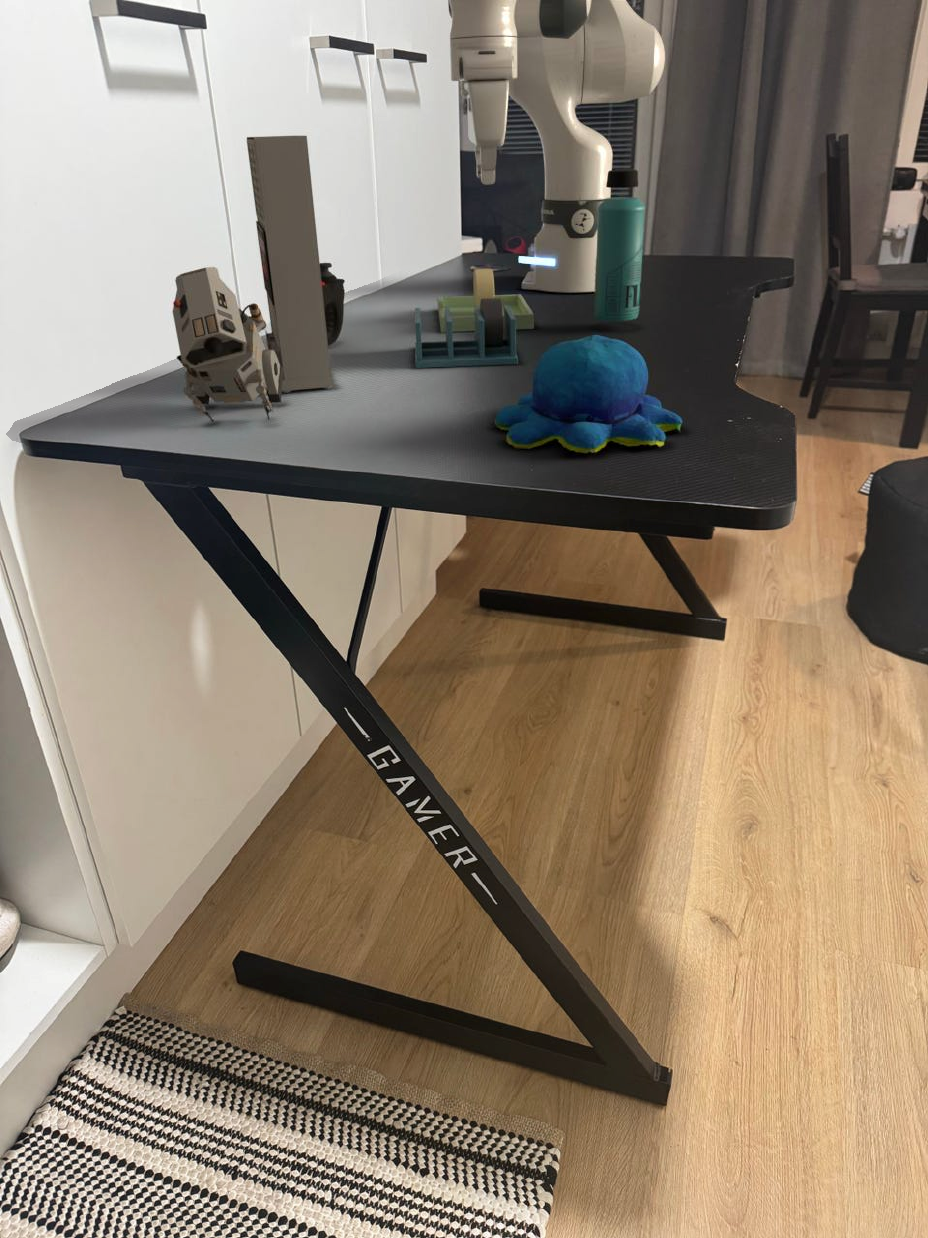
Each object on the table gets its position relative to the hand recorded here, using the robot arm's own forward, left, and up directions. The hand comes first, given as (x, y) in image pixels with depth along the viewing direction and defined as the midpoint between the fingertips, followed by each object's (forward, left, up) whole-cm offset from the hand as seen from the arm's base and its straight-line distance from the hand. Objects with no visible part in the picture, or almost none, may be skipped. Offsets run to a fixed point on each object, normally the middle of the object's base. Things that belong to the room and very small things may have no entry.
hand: (485, 181), depth 124 cm
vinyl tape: (+24, -1, -15) cm, 28 cm away
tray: (0, -1, -19) cm, 19 cm away
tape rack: (+24, -5, -19) cm, 31 cm away
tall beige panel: (+32, -25, -19) cm, 44 cm away
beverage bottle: (+10, +17, -19) cm, 27 cm away
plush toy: (+56, +5, -19) cm, 59 cm away
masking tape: (-1, 0, -15) cm, 15 cm away
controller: (+15, -24, -19) cm, 34 cm away
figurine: (+43, -30, -19) cm, 56 cm away
